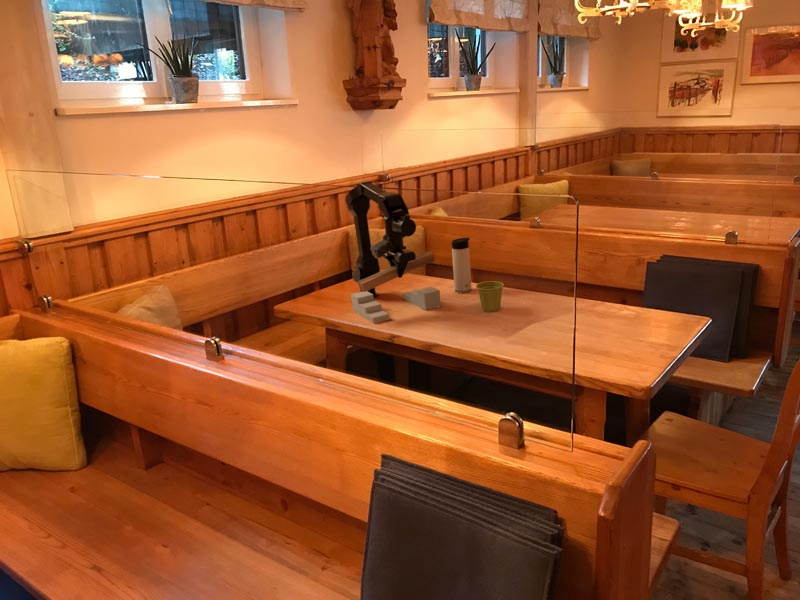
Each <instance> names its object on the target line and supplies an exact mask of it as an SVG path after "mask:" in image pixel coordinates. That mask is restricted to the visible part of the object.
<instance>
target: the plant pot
mask: <svg viewBox="0 0 800 600" xmlns="http://www.w3.org/2000/svg"><path fill="white" fill-rule="evenodd" d="M504 286H505V284H504V283H503V282H501V281H495V280H487V281H482V282H479V283H476V285H475V288H476V289H477V290H476V291H477V293H478V296H479V297H478V298H479V301H480V307H481V310H482V311H483V312H486V313H490V312H498V311H500V310H501V305H502V304H501V303H502V291H503V287H504Z"/></svg>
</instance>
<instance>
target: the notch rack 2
mask: <svg viewBox="0 0 800 600" xmlns="http://www.w3.org/2000/svg"><path fill="white" fill-rule="evenodd" d="M401 295H402V299H403V300H406V301H407V302H409V303H411V304H413V305H415V306H416V305H417V306H416V307H418V306H419V308H420V307H421V309H422V308H423V310H424V309H425V310H424V311H429V310H428V309H430V310H433V309H437V308H439V307H438V306H441V307H442V305H441V304H442V303H441V292H440V289H437V288H436V287H433V286H428V287H423V288H419V289H414V290H410V291H409V290H408V291H405V292H402V293H401ZM436 307H437V308H436ZM432 308H433V309H432Z"/></svg>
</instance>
